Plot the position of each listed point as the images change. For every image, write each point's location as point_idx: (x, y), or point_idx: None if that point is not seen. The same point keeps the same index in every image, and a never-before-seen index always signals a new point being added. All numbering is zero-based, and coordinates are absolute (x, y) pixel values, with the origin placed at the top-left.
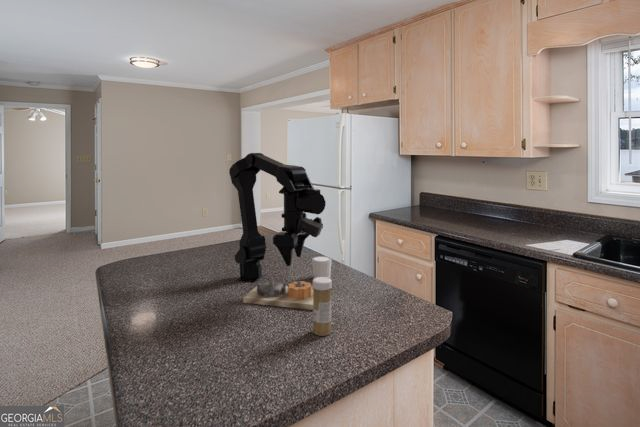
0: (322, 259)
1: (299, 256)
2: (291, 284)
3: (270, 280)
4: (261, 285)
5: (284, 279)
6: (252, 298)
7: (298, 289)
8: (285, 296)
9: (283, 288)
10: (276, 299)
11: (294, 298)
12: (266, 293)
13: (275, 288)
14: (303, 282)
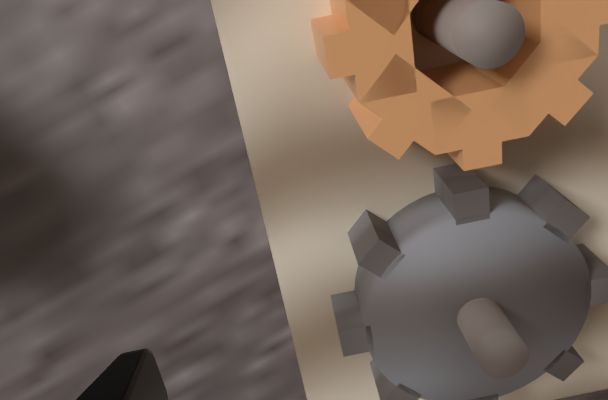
0: None
1: (152, 364)
2: (479, 134)
3: (526, 350)
4: (496, 384)
5: (41, 378)
6: None
7: None
8: None
9: (485, 193)
10: (602, 158)
11: None
12: (604, 268)
13: (532, 250)
14: (366, 34)
